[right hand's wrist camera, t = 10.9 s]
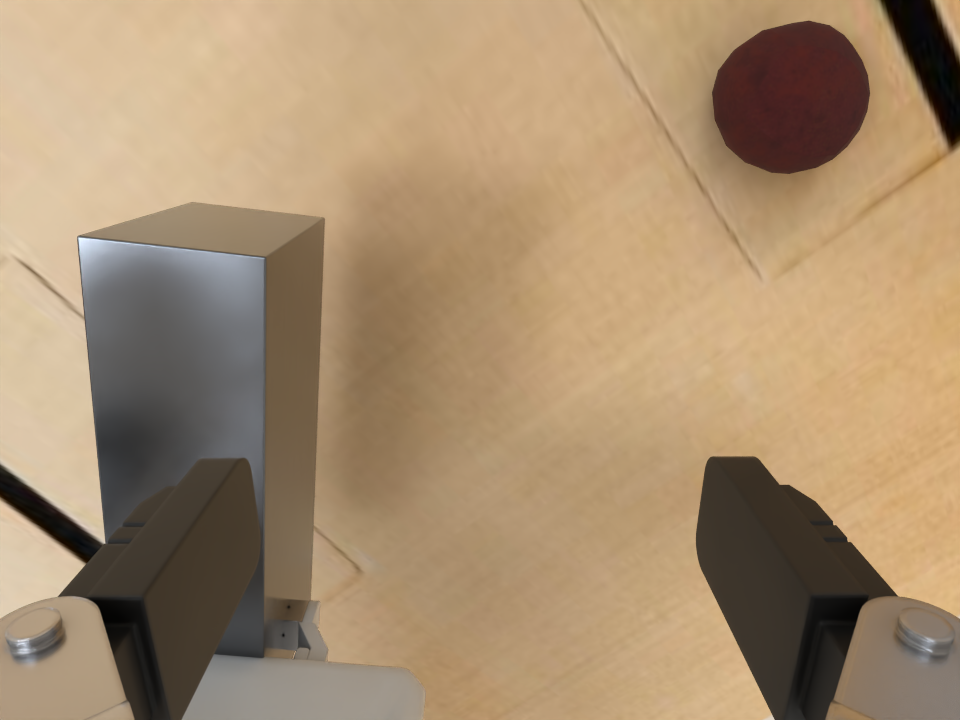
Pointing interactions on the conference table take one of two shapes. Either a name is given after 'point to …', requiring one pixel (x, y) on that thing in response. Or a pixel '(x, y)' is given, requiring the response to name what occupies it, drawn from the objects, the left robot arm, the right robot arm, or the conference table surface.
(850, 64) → the potato
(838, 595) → the right robot arm
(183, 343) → the box
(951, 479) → the conference table surface
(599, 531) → the conference table surface
